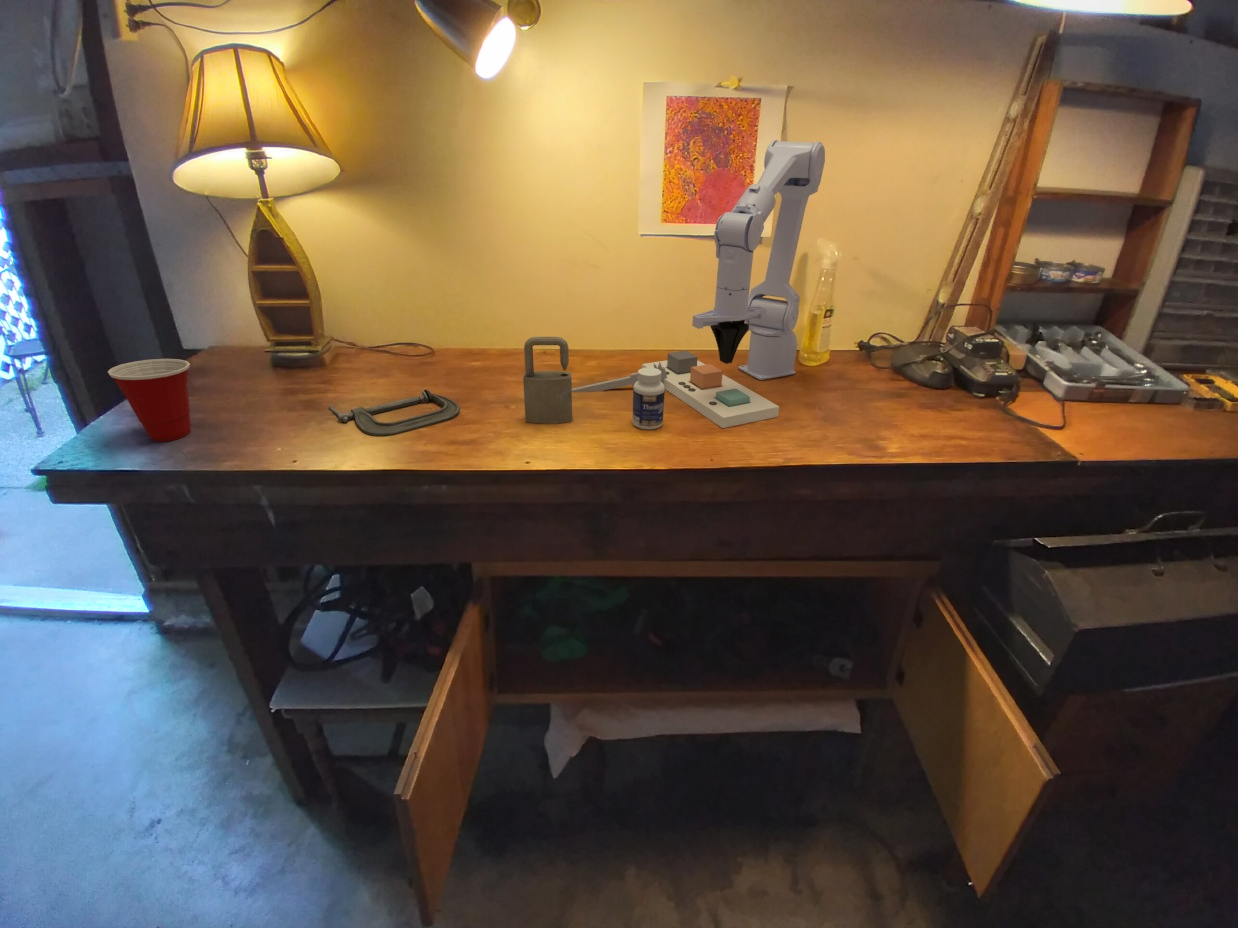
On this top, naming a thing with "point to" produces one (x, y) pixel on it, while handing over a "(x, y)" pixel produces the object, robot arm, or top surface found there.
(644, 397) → the pill bottle
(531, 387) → the padlock
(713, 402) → the button panel
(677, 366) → the button two
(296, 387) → the top surface
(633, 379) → the caliper
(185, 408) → the plastic cup
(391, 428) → the c clamp
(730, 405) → the button one
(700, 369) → the button three
